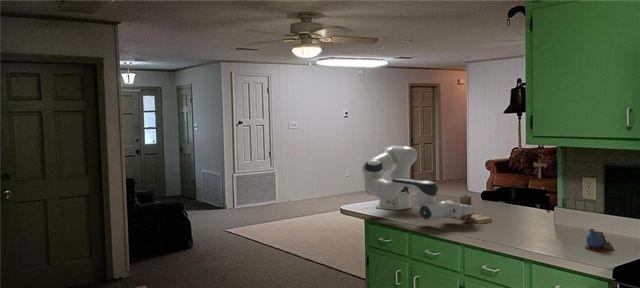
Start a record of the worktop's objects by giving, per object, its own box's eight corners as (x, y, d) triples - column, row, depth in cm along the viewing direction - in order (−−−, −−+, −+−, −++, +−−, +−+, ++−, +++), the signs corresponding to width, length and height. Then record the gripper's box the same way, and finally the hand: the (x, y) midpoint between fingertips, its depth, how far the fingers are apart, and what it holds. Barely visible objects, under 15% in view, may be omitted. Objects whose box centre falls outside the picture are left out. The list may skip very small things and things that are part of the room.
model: (601, 253, 218) (601, 231, 218) (580, 248, 226) (580, 227, 226) (617, 248, 225) (617, 226, 224) (596, 244, 233) (596, 223, 232)
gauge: (466, 221, 282) (465, 195, 282) (460, 220, 286) (460, 194, 285) (476, 219, 286) (476, 193, 286) (471, 218, 290) (471, 193, 289)
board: (491, 221, 285) (491, 217, 285) (479, 223, 280) (479, 220, 280) (459, 214, 306) (459, 211, 306) (447, 216, 301) (447, 213, 301)
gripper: (434, 211, 288) (453, 208, 294) (461, 217, 270) (481, 214, 277) (434, 200, 287) (453, 197, 294) (461, 205, 269) (481, 202, 276)
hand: (467, 205), depth 285 cm, fingers closed on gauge, 4 cm apart
